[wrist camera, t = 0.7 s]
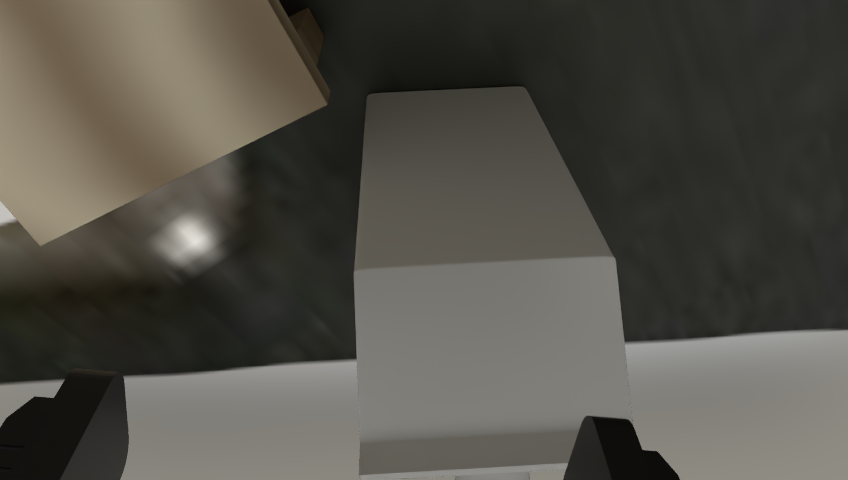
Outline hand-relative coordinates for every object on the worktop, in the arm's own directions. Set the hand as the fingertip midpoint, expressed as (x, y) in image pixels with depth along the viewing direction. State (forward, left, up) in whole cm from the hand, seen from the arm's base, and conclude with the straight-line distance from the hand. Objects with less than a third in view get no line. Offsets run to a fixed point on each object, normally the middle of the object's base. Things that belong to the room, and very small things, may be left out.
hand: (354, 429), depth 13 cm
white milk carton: (-1, +6, -23) cm, 23 cm away
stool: (+7, -8, -22) cm, 24 cm away
